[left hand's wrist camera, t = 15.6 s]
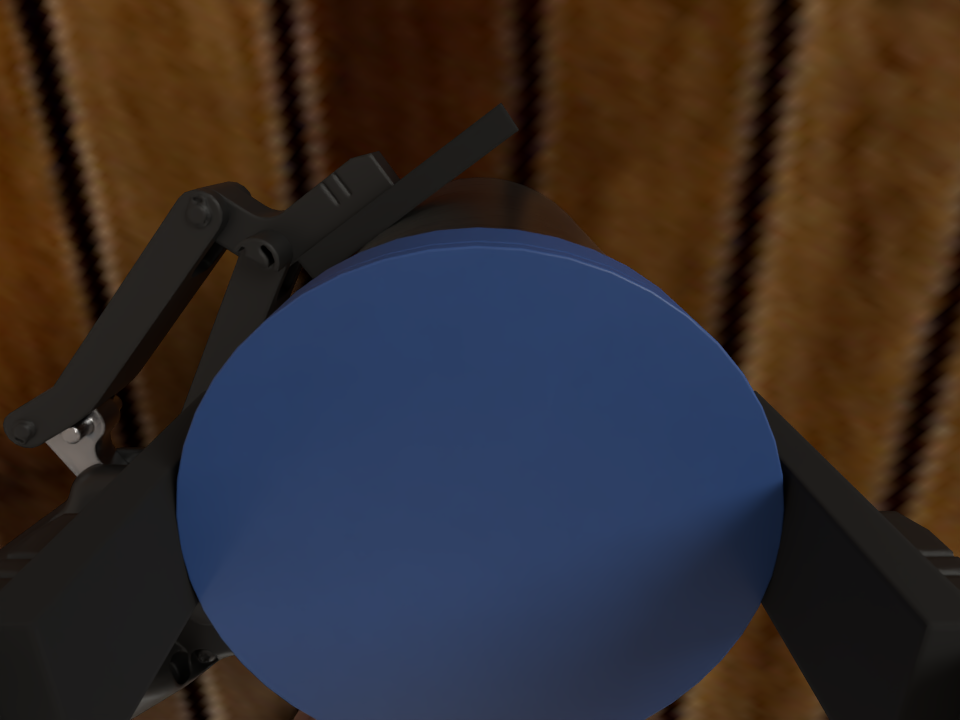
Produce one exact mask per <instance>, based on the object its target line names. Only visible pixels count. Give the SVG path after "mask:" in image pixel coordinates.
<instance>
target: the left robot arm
mask: <svg viewBox="0 0 960 720" xmlns="http://www.w3.org/2000/svg"><path fill="white" fill-rule="evenodd" d="M205 393H206V391H203V392H202V393H201V394H200V395H199V396H198V397H197V398H196V399H195V400H194V401H193V402H192V403H191V404H190V405H189V406H188V407H187V408H186V409H185V410H184V411H183V412H182V413H181V414H180V415H179V416H178V417H177V418H176V419H175V420H174V421H173V422H172V423H171V424H170V425H168V426H167V427H166V428H165V429H164V430H163V431H162V432H161V433H160V434H159V435H158V436H157V437H156V438H155V439H154V440H153V441H152V442H151V443H150V444H149V445H148V446H147V447H146V448H145V449H144V450H143V451H142V452H141V453H140V454H139V455H138V456H137V457H136V458H135V459H134V460H133V461H132V462H131V463H130V464H129V465H128V466H127V467H126V468H125V469H124V470H123V471H122V472H121V473H119V474H118V475H117V476H116V477H115V478H114V479H113V480H112V481H111V482H110V483H109V484H108V485H107V486H106V487H105V488H104V489H103V490H102V491H101V492H100V493H99V494H98V495H97V496H96V497H95V498H94V499H93V500H92V501H91V502H90V503H89V504H88V505H87V506H86V507H85V508H84V509H83V510H82V511H81V512H80V513H64V514H63V515H61V516H59V517H57V518H56V519H54V520H52V521H50V522H49V523H47V524H45V525H43V526H42V527H40V528H38V529H36V530H35V531H33V532H31V533H30V534H29V535H28V536H27V537H26V538H25V539H24V540H23V541H22V542H20V543H19V544H18V545H17V546H16V547H15V548H14V549H13V550H12V551H11V552H10V553H9V554H7V559H2V560H1V561H0V720H130V719H131V717H132V716H133V714H134V712H135V710H136V709H137V707H138V705H139V704H140V702H141V700H142V698H143V697H144V695H145V693H146V692H147V690H148V688H149V686H150V685H151V683H152V681H153V680H154V678H155V676H156V674H157V673H158V671H159V669H160V668H161V666H162V664H163V662H164V661H165V659H166V657H167V656H168V654H169V652H170V650H171V649H172V647H173V645H174V644H175V642H176V640H177V638H178V637H179V635H180V633H181V632H182V630H183V628H184V626H185V625H186V623H187V621H188V620H189V618H190V616H191V614H192V613H193V611H194V609H195V608H196V606H197V604H198V602H199V600H198V598H197V595H196V593H195V591H194V589H193V587H192V584H191V582H190V580H189V576H188V573H187V570H186V566H185V563H184V559H183V555H182V550H181V545H180V540H179V534H178V527H177V519H176V493H177V476H178V471H179V466H180V460H181V455H182V449H183V445H184V442H185V439H186V436H187V433H188V431H189V428H190V425H191V422H192V419H193V416H194V414H195V411H196V409H197V407H198V406H199V404H200V402H201V400H202V398H203V396H204V395H205ZM754 393H755V394H756V396H757V398H758V400H759V401H760V403H761V405H762V407H763V409H764V412H765V415H766V417H767V420H768V422H769V425H770V428H771V430H772V433H773V435H774V438H775V441H776V446H777V450H778V455H779V460H780V465H781V469H782V474H783V492H784V518H783V528H782V534H781V540H780V545H779V550H778V554H777V559H776V563H775V567H774V571H773V575H772V578H771V580H770V582H769V584H768V587H767V589H766V591H765V594H764V596H763V598H762V601H761V603H762V605H763V606H764V608H765V610H766V612H767V613H768V615H769V617H770V618H771V620H772V622H773V624H774V625H775V627H776V629H777V630H778V632H779V634H780V636H781V637H782V639H783V641H784V642H785V644H786V646H787V648H788V649H789V651H790V653H791V654H792V656H793V658H794V660H795V661H796V663H797V665H798V666H799V668H800V670H801V672H802V673H803V675H804V677H805V678H806V680H807V682H808V684H809V685H810V687H811V689H812V690H813V692H814V694H815V696H816V697H817V699H818V701H819V702H820V704H821V706H822V708H823V709H824V711H825V713H826V714H827V716H828V718H829V720H960V558H959V557H954V556H953V552H952V551H951V550H950V549H949V548H948V547H947V546H946V545H944V544H943V543H942V542H941V541H940V540H939V539H938V538H937V537H936V536H935V535H934V534H932V533H931V532H930V531H929V530H928V529H926V528H924V527H922V526H921V525H919V524H917V523H915V522H914V521H912V520H910V519H908V518H907V517H905V516H903V515H901V514H900V513H898V512H896V511H878V510H877V509H876V508H875V507H874V506H873V505H872V504H871V503H870V502H869V501H868V500H867V499H866V498H865V497H864V496H863V495H862V494H861V493H860V492H858V491H857V490H856V489H855V488H854V487H853V486H852V485H851V484H850V483H849V482H848V481H847V480H846V479H845V478H844V477H843V476H842V475H841V474H840V473H839V472H838V471H837V470H836V469H835V468H834V467H833V466H832V465H831V464H830V463H829V462H828V461H827V460H826V459H825V458H824V457H823V456H822V455H821V454H820V453H819V452H818V451H817V450H816V449H815V448H814V447H813V446H812V445H811V444H810V443H808V442H807V441H806V440H805V439H804V438H803V437H802V436H801V435H800V434H799V433H798V432H797V431H796V430H795V429H794V428H793V427H792V426H791V425H790V424H789V423H788V422H787V421H786V420H785V419H784V418H783V417H782V416H781V415H780V414H779V413H778V412H777V411H776V410H775V409H774V408H773V407H772V406H771V405H770V404H769V403H768V402H767V401H766V400H765V399H764V398H763V397H762V396H761V395H759V394H758V393H757V392H756V391H754Z"/></svg>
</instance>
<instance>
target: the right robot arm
mask: <svg viewBox="0 0 960 720" xmlns="http://www.w3.org/2000/svg"><path fill="white" fill-rule="evenodd" d="M518 130H519V129H518V128H517V126H516V125H515V123H514V122H513V120H512V119H511V117H510V116H509V114H508V113H507V111H506V109H505V108H504V106H503V105H502V103H500V104H499V105H498V106H496V107H495V108H494V109H492V110H491V111H490V112H488V113H487V114H486V115H485V116H483V117H482V118H481V119H479V120H478V121H477V122H475V123H474V124H473V125H471V126H470V127H469V128H468V129H466V130H465V131H464V132H462V133H461V134H460V135H458V136H457V137H456V138H454V139H453V140H452V141H451V142H449V143H448V144H447V145H445V146H444V147H443V148H441V149H440V150H439V151H437V152H436V153H435V154H434V155H432V156H431V157H430V158H428V159H427V160H426V161H424V162H423V163H422V164H420V165H419V166H418V167H417V168H415V169H414V170H413V171H411V172H410V173H409V174H407V175H406V176H405V177H403V178H402V179H401V180H400V179H399V177H398V176H397V175H396V173H395V172H394V171H393V169H392V168H391V167H390V165H389V164H388V162H387V161H386V160H385V158H384V157H383V156H382V154H381V153H380V152H379V151H377V152H373V153H369V154H366V155H362V156H358V157H355V158H351V159H350V160H348V161H347V162H346V163H345V164H343V165H342V166H341V167H340V168H338V169H337V170H336V171H335V172H333V173H332V174H331V175H329V176H328V177H327V178H326V179H324V180H323V181H322V182H321V183H319V184H318V185H317V186H316V187H314V188H313V189H312V190H310V191H309V192H308V193H307V194H305V195H304V196H303V197H302V198H300V199H299V200H298V201H297V202H295V203H294V204H293V205H291V206H290V207H289V208H288V209H286V210H285V211H278V210H274V209H271V208H269V207H267V206H265V205H263V204H262V203H260V202H259V201H257V200H256V199H254V198H252V197H251V194H250V192H249V191H248V190H247V189H246V188H245V187H244V186H242V185H240V184H238V183H237V182H224V183H220V184H215V185H211V186H207V187H202V188H198V189H195V190H191V191H188V192H185V193H184V194H183V195H182V196H181V197H179V198H178V200H177V201H176V203H175V204H174V206H173V207H172V209H171V210H170V212H169V213H168V215H167V216H166V218H165V219H164V221H163V222H162V224H161V225H160V227H159V228H158V230H157V231H156V233H155V234H154V236H153V237H152V239H151V241H150V242H149V244H148V245H147V247H146V248H145V250H144V251H143V253H142V254H141V256H140V257H139V259H138V260H137V262H136V263H135V265H134V266H133V268H132V269H131V271H130V272H129V274H128V275H127V277H126V278H125V280H124V281H123V283H122V284H121V286H120V287H119V289H118V290H117V292H116V293H115V295H114V296H113V298H112V299H111V301H110V302H109V304H108V305H107V307H106V308H105V310H104V311H103V313H102V314H101V316H100V317H99V319H98V320H97V322H96V323H95V325H94V326H93V328H92V329H91V331H90V332H89V334H88V335H87V337H86V338H85V340H84V341H83V343H82V344H81V346H80V347H79V349H78V350H77V352H76V353H75V355H74V356H73V358H72V359H71V361H70V362H69V364H68V365H67V367H66V368H65V370H64V371H63V373H62V374H61V376H60V377H59V379H58V380H57V382H56V383H55V385H54V386H53V387H52V388H50V389H48V390H47V391H45V392H44V393H42V394H40V395H39V396H37V397H35V398H34V399H32V400H31V401H29V402H27V403H26V404H24V405H23V406H21V407H19V408H18V409H16V410H14V411H13V412H11V413H10V414H9V415H8V416H7V417H6V418H5V420H4V423H3V427H4V431H5V433H6V435H7V436H8V438H9V439H10V440H11V441H13V442H14V443H15V444H17V445H19V446H22V447H25V448H33V447H36V446H39V445H41V444H43V443H44V442H46V443H47V444H48V445H49V447H50V448H51V449H52V450H53V451H54V452H55V453H56V454H57V455H58V456H59V458H60V459H61V460H62V461H63V462H64V463H65V464H66V465H67V466H68V467H69V469H70V470H71V471H72V472H73V473H74V474H75V475H76V476H77V477H76V479H75V480H74V482H73V484H72V487H71V491H70V495H69V497H68V500H67V501H65V502H64V503H63V504H61V505H60V506H59V507H57V508H56V509H55V510H53V511H52V512H50V513H49V514H48V515H46V516H45V517H44V518H42V519H41V520H40V521H38V522H37V523H35V524H34V525H33V526H31V527H30V528H29V529H27V530H26V531H25V532H23V533H22V534H20V535H19V536H18V537H16V538H15V539H14V540H12V541H11V542H10V543H8V544H7V545H6V546H4V547H3V548H2V549H0V561H1V560H2V559H7V554H9V553H10V552H11V551H12V550H13V549H14V548H15V547H16V546H17V545H18V544H19V543H20V542H22V541H23V540H24V539H25V538H26V537H27V536H28V535H29V534H30V533H31V532H33V531H35V530H36V529H38V528H40V527H42V526H43V525H45V524H47V523H49V522H50V521H52V520H54V519H56V518H57V517H59V516H61V515H63V514H64V513H80V512H81V511H82V510H83V509H84V508H85V507H86V506H87V505H88V504H89V503H90V502H91V501H92V500H93V499H94V498H95V497H96V496H97V495H98V494H99V493H100V492H101V491H102V490H103V489H104V488H105V487H106V486H107V485H108V484H109V483H110V482H111V481H112V480H113V479H114V478H115V477H116V476H117V475H118V474H119V473H121V472H122V471H123V470H124V469H125V468H126V467H127V466H128V465H129V464H130V463H131V462H132V461H133V460H134V459H135V458H136V457H137V456H138V455H139V454H140V453H141V452H142V451H143V450H144V449H145V448H129V447H125V448H115V447H114V445H113V444H112V441H111V431H112V429H113V428H114V426H115V425H116V424H117V423H118V422H119V419H120V411H119V410H120V409H121V407H122V401H121V399H120V398H119V397H118V396H116V395H115V394H116V393H118V392H119V391H120V390H122V389H123V388H124V387H125V386H126V385H128V384H129V383H130V382H131V381H132V380H133V379H134V378H135V377H136V375H137V374H138V373H139V372H140V371H141V369H142V368H143V367H144V365H145V364H146V362H147V361H148V359H149V358H150V357H151V355H152V354H153V352H154V351H155V350H156V348H157V347H158V345H159V344H160V343H161V341H162V340H163V338H164V337H165V336H166V334H167V333H168V331H169V330H170V328H171V327H172V326H173V324H174V323H175V321H176V320H177V319H178V317H179V316H180V314H181V313H182V312H183V310H184V309H185V307H186V306H187V305H188V303H189V302H190V300H191V299H192V298H193V296H194V295H195V293H196V292H197V290H198V289H199V288H200V286H201V285H202V283H203V282H204V281H205V279H206V278H207V276H208V275H209V274H210V272H211V271H212V269H213V268H214V267H215V265H216V264H217V262H218V261H219V259H220V258H221V257H222V255H223V254H224V252H225V251H226V250H227V249H228V250H229V251H231V252H233V253H234V254H236V255H237V256H239V258H238V260H237V263H236V266H235V269H234V271H233V274H232V277H231V279H230V282H229V285H228V287H227V290H226V293H225V296H224V298H223V301H222V304H221V306H220V309H219V312H218V315H217V317H216V320H215V323H214V325H213V328H212V331H211V334H210V336H209V339H208V342H207V344H206V347H205V350H204V353H203V355H202V358H201V361H200V363H199V366H198V369H197V371H196V374H195V377H194V380H193V382H192V385H191V388H190V390H189V393H188V396H187V399H186V401H185V404H184V407H183V409H182V412H183V411H184V410H185V409H186V408H187V407H188V406H189V405H190V404H191V403H192V402H193V401H194V400H195V399H196V398H197V397H198V396H199V395H200V394H201V393H202V392H203V391H207V389H208V387H209V385H210V384H211V382H212V380H213V378H214V377H215V376H216V374H217V373H218V372H219V370H220V369H221V368H222V366H223V365H224V364H225V363H226V361H227V360H228V359H229V357H230V356H231V355H232V353H233V352H234V351H235V349H236V348H237V347H238V346H239V345H240V344H241V343H242V342H243V341H244V340H245V339H246V338H247V337H248V336H249V335H250V334H251V333H253V332H254V331H255V330H256V329H257V328H258V327H259V326H260V325H261V324H262V323H263V322H264V321H265V320H266V319H267V318H268V317H269V316H270V315H271V314H273V313H274V312H275V311H276V310H277V309H278V308H279V307H280V306H281V305H282V304H283V303H284V302H285V301H287V300H288V299H289V297H290V295H291V292H292V290H293V287H294V285H295V283H296V280H297V278H298V275H299V273H300V270H301V268H302V266H303V268H304V269H305V270H306V271H307V272H308V274H309V275H310V276H311V277H312V279H314V278H316V277H317V276H319V275H320V274H321V273H323V272H324V271H326V270H327V269H329V268H331V267H333V266H335V265H337V264H339V263H341V262H342V261H344V260H346V259H347V258H348V257H350V256H351V255H352V254H354V253H355V252H356V251H358V250H359V249H360V248H362V247H363V246H364V245H366V244H367V243H368V242H370V241H371V240H372V239H374V238H375V237H376V236H378V235H379V234H380V233H382V232H383V231H384V230H386V229H387V228H388V227H390V226H391V225H392V224H394V223H395V222H396V221H398V220H399V219H400V218H402V217H403V216H404V215H406V214H407V213H408V212H410V211H411V210H412V209H414V208H415V207H416V206H418V205H419V204H420V203H422V202H423V201H424V200H426V199H427V198H428V197H430V196H431V195H432V194H434V193H435V192H436V191H438V190H439V189H440V188H442V187H443V186H444V185H446V184H447V183H449V182H450V181H451V180H453V179H454V178H455V177H457V176H458V175H459V174H461V173H462V172H463V171H465V170H466V169H467V168H469V167H470V166H471V165H473V164H474V163H475V162H477V161H478V160H479V159H481V158H482V157H483V156H485V155H486V154H487V153H489V152H490V151H491V150H493V149H494V148H495V147H497V146H498V145H499V144H501V143H502V142H503V141H505V140H506V139H507V138H509V137H510V136H511V135H513V134H514V133H515V132H517V131H518ZM182 412H181V413H182ZM232 655H234V653H233V652H232V651H231V650H230V648H229V647H228V646H227V645H226V644H225V642H224V641H223V640H222V639H221V638H220V636H219V634H218V633H217V631H216V630H215V628H214V626H213V625H212V623H211V622H210V620H209V619H208V617H207V615H206V614H205V612H204V611H203V609H202V606H201V604H200V602H198V604H197V606H196V608H195V609H194V611H193V613H192V614H191V616H190V618H189V620H188V621H187V623H186V625H185V626H184V628H183V630H182V632H181V633H180V635H179V637H178V638H177V640H176V642H175V644H174V645H173V647H172V649H171V650H170V652H169V654H168V656H167V657H166V659H165V661H164V662H163V664H162V666H161V668H160V669H159V671H158V673H157V674H156V676H155V678H154V680H153V681H152V683H151V685H150V686H149V688H148V690H147V692H146V693H145V695H144V697H143V698H142V700H141V702H140V704H139V705H138V707H137V709H136V710H135V712H134V714H133V716H132V717H131V719H133V718H135V717H136V716H138V715H139V714H141V713H143V712H144V711H146V710H148V709H149V708H151V707H153V706H154V705H156V704H158V703H159V702H161V701H162V700H164V699H166V698H167V697H169V696H171V695H172V694H174V693H176V692H177V691H179V690H180V689H182V688H184V687H185V686H187V685H188V684H189V683H191V682H192V681H193V680H195V679H196V678H197V677H199V676H200V675H201V674H202V673H204V672H205V671H206V670H207V669H209V668H210V667H211V666H212V665H213V664H215V663H216V662H217V661H219V660H220V659H222V658H225V657H228V656H232ZM131 719H130V720H131Z"/></svg>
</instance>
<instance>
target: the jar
mask: <svg viewBox="0 0 960 720" xmlns="http://www.w3.org/2000/svg"><path fill="white" fill-rule="evenodd" d="M476 227H479V228H497V229H514V230H522V231H527V232H532V233H537V234H543V235H548V236H553V237H557V238H560V239H563V240H566V241H569V242H572V243H575V244H578V245H581V246H584V247H587V248H590V249H593V250H596V251H598V252H600V253H602V254H604V253H603V252H602V251H601V250H600V249H599V248H598V246H597V245H596V244H595V243H594V242H593V241H592V240H591V239H590V238H589V237H588V236H587V235H586V234H585V233H584V232H583V230H582V229H581V228H580V227H579V226H578V225H577V224H576V223H575V222H574V221H573V220H572V219H571V218H570V217H569V215H568V214H567V213H566V212H564V211H563V210H562V209H561V208H560V207H559V206H558V205H557V204H555V203H554V202H553V201H551V200H550V199H548V198H547V197H545V196H544V195H542V194H541V193H539V192H537V191H535V190H533V189H531V188H528V187H526V186H524V185H521V184H517V183H514V182H511V181H507V180H501V179H495V178H466V179H459V180H454V181H450V182H449V183H447V184H446V185H444V186H443V187H442V188H440V189H439V190H438V191H436V192H435V193H434V194H432V195H431V196H430V197H428V198H427V199H426V200H424V201H423V202H422V203H420V204H419V205H418V206H416V207H415V208H414V209H412V210H411V211H410V212H408V213H407V214H406V215H404V216H403V217H402V218H400V219H399V220H398V221H396V222H395V223H394V224H392V225H391V226H390V227H388V228H387V229H386V230H384V231H383V232H382V233H380V234H379V235H378V236H376V237H375V238H374V239H372V240H371V241H370V242H368V243H367V244H366V245H364V246H363V247H362V248H361V249H360V250H359V251H358V252H357V253H356V254H358V253H360V252H362V251H365V250H368V249H370V248H373V247H376V246H379V245H382V244H384V243H387V242H390V241H393V240H396V239H399V238H404V237H408V236H413V235H418V234H422V233H427V232H432V231H437V230H449V229H462V228H476ZM356 254H355V255H356ZM604 255H605V254H604Z"/></svg>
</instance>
